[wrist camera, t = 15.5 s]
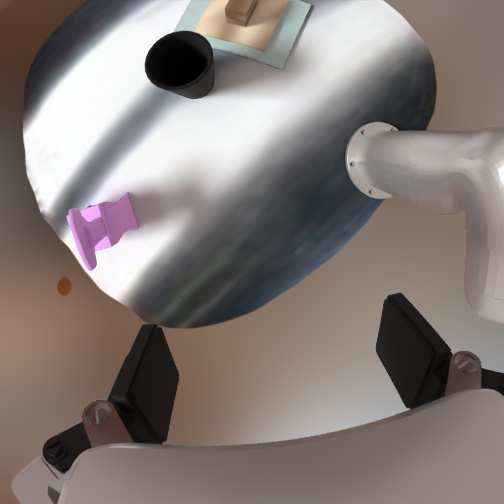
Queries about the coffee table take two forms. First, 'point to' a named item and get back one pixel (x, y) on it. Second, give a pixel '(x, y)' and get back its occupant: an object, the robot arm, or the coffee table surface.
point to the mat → (272, 55)
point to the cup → (182, 64)
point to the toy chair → (100, 227)
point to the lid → (242, 21)
